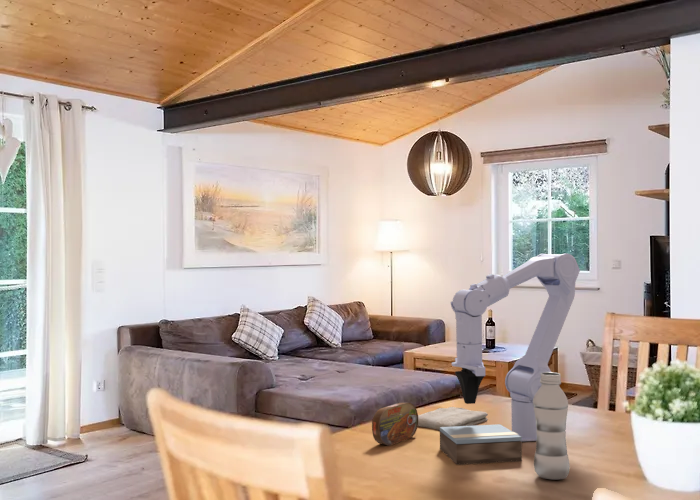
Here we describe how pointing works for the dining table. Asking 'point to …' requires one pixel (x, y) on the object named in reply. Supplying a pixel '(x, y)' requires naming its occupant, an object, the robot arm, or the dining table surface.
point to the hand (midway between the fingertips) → (469, 403)
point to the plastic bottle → (551, 428)
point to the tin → (395, 423)
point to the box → (481, 451)
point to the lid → (480, 434)
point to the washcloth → (451, 418)
